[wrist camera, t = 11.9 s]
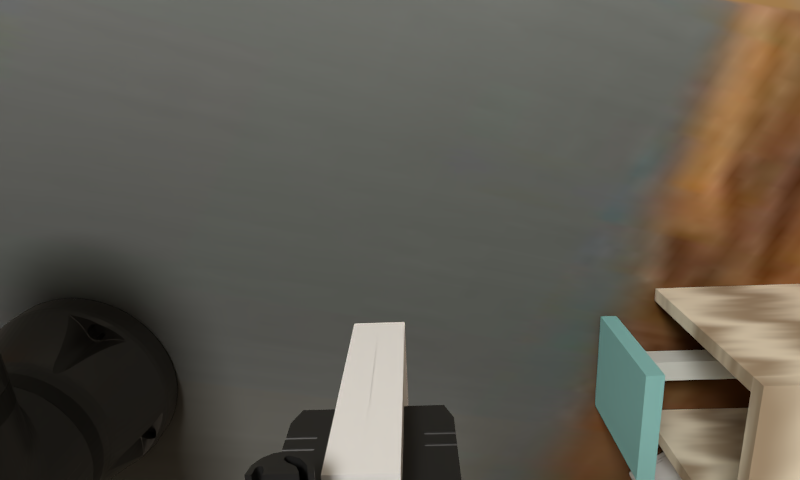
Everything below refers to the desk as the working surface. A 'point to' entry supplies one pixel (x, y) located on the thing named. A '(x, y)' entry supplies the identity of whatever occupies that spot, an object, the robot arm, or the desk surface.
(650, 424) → the slider
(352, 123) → the desk surface
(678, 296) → the tunnel
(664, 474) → the ink box
